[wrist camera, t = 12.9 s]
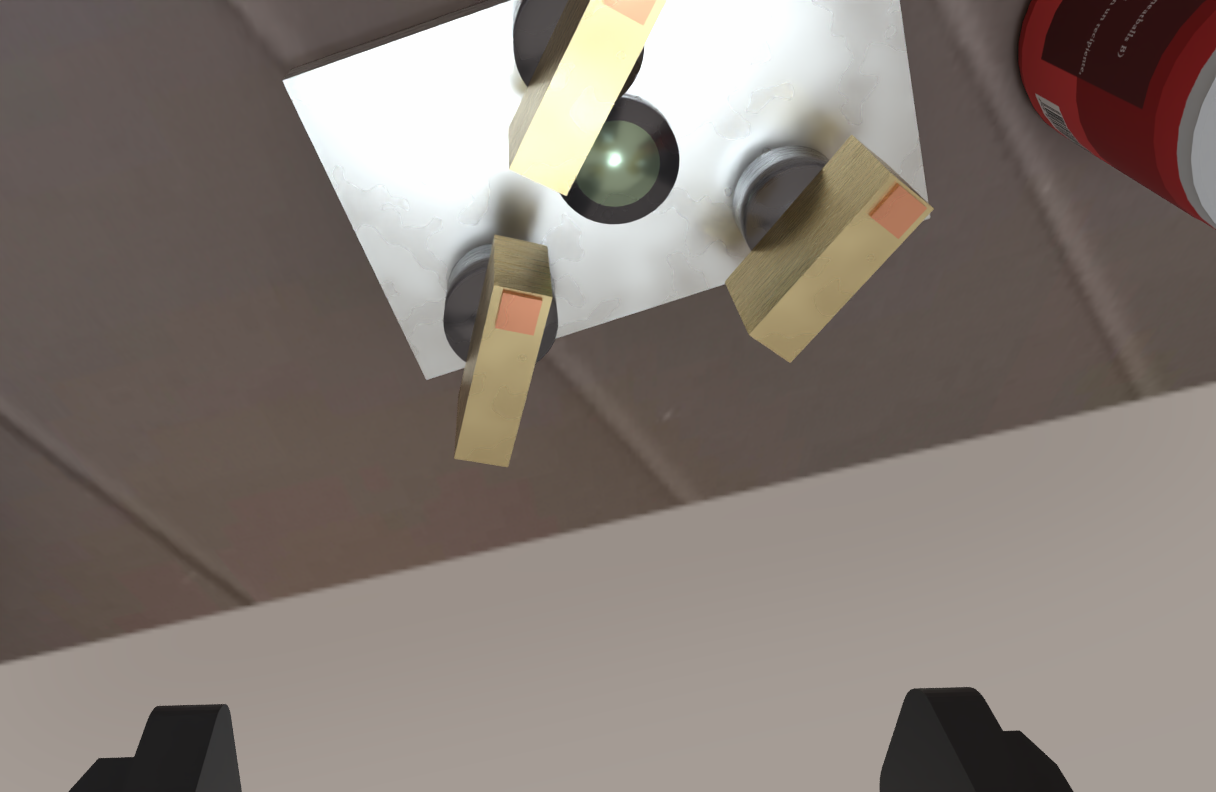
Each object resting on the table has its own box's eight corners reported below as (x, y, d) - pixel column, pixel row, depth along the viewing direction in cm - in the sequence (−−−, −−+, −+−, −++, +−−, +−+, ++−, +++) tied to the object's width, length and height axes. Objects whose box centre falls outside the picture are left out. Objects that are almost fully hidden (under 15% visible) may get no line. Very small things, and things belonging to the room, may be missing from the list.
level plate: (428, 361, 40) (425, 389, 38) (290, 69, 34) (278, 86, 32) (916, 203, 38) (937, 225, 36) (865, -133, 32) (888, -128, 30)
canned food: (1188, 138, 38) (1413, 251, 29) (987, 138, 37) (1151, 254, 28) (1262, -84, 34) (1551, -37, 25) (1038, -89, 33) (1249, -42, 24)
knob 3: (768, 294, 38) (816, 382, 32) (689, 237, 37) (724, 319, 31) (887, 160, 36) (960, 231, 30) (807, 94, 34) (869, 155, 28)
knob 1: (534, 375, 39) (540, 476, 33) (432, 357, 38) (420, 456, 32) (574, 225, 36) (588, 307, 30) (464, 201, 35) (457, 280, 29)
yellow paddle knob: (584, 144, 34) (601, 214, 29) (477, 91, 33) (472, 154, 27) (675, -35, 32) (714, 4, 26) (562, -99, 30) (577, -73, 25)
